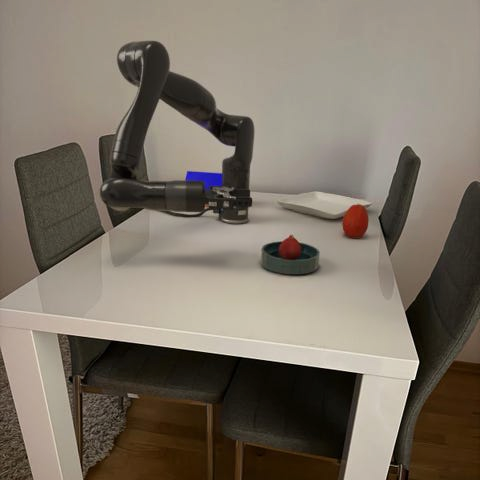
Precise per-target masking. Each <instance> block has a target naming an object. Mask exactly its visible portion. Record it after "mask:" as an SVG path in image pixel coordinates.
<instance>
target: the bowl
mask: <svg viewBox="0 0 480 480" xmlns="http://www.w3.org/2000/svg"><path fill="white" fill-rule="evenodd" d="M282 242H283V240H282V241H281V240H280V241H272V242H268V243H266V244H264V245H262V247H261V249H260V251H261V252H260V264H261V266H262V267H264V268H265V269H266V270H268V271H271V272H275V273H278V274H285V275H305V274H309V273H312V272H315V271H316V270H317V269H318V268H319V264H320V263H319V262H320V256H321V251H320V250H319V248H318V247H317V248H316V247H315V246H313V245H310V244H308V243H304V242H299V241H298V242H299V243H300V246H301V254H300V256H299V257H298V259H296V260H287V259H282V258H281V256H280V254H279V247H280V245H281V243H282Z"/></svg>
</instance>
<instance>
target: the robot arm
mask: <svg viewBox="0 0 480 480" xmlns="http://www.w3.org/2000/svg"><path fill="white" fill-rule="evenodd" d="M116 54H117V55H116V64H117V67H118V69H119V72H120V74H121V75H122V77H123V78H124V79H125V80H126V81H127V82H128V83H129V84H131V85H132V86H134V87H137V88H138V89H137V91H136V95H135V97H134V98H133V101H132V103H131V105H130V107H129V109H128V110H127V111H126V113H125V114H124V116H123V117H122V119H121V120H120V122H119V124H118V126H117V128H116V131H115V134H114V137H113V141H112V146H111V152H110V156H109V164H110V167H111V169H110V177H109V178H108V179H106V180H104V181H103V182H102V184H100V188H99V197H100V199H101V201H102V203H103V204H104V205H106V206H107V207H108V208H110V209H112V210H114V211H116V212H124V211H127V210H129V209H130V208H131V209H143V210H147V211H158V212H159V211H160V212H163V213H166V214H169V215H172V216H176V217H184V218H198V217H201V216H203V215H204V214H205V213H207V212H209V211H212V213H213V214H218V220H219V221H222V222H223V223H226V224H233V225H235V224H237V225H238V224H239V225H240V224H245V223H247V222H249V208H251V207H253V197H251V190H250V184H251V183H250V182H251V165H252V160H253V157H254V144H255V143H254V142H255V131H256V129H255V124H254V120H253V119H252V118H251V117H250V116H246V115H238V114H237V115H236V114H229V113H225V112H223V111H222V110H220V109H219V108H218V107H217V101H216V98H215V97H214V95H213V94H212V93H211V92H210V91H209V90H208V89H207V88H206V87H205V86H204V85H202V84H201V83H199V82H198V81H196V80H194V79H192V78H190V77H188V76H185V75H183V74H180V73H177V72H174V71H171V60H170V59H171V58H170V55H169V51H168V50H167V48H166V46H165V45H164V44H163V43H161V42H160V41H158V40H139V41H131V42H128V43H125V44H123V45H122V46H121V47H120V48H119V49H118V52H117V53H116ZM160 100H161V101H162V102H163V103H164V104H166V105H168V106H169V107H171V108H172V109H174V110H175V111H177V112H178V113H179V114H180V115H182V116H184V118H187V120H189V121H191V122H193V123H195V124H196V125H198V126H199V127H201V128H202V129H204V130H206V131H208V132H209V133H210V134H211V135H212V136H213V137H214V138H215V139H216V140H217V141H219V142H220V143H221V144H222V145H225V146H227V147H234V152H233V154H232V155H231V156H228V157H225V158H223V159H222V162H221V173H222V186H209V189H207V190H206V189H205V183H204V181H188V180H185V179H184V180H181V179H175V180H142V179H141V180H140V179H138V172H139V167H140V164H141V160H142V156H143V155H142V154H143V151H144V147H145V146H144V145H145V142H146V138H147V134H148V131H149V128H150V124H151V122H152V121H153V120H152V119H153V117H154V115H155V112H156V110H157V107H158V104H159V101H160ZM205 204H207V205H208V207H205ZM190 213H195V214H190Z"/></svg>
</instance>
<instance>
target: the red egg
mask: <svg viewBox="0 0 480 480" xmlns="http://www.w3.org/2000/svg"><path fill="white" fill-rule="evenodd" d="M369 220H370V218H369V214H368V211H367V208H366V209H365V207H364V206H363V205H361V204H358V205H352V206H351V207H350V208H349V209H348V210H347V212H346V213H345V215H344V216H343V217H342V223H341V225H342V231H343V233H344V235H346V236H347V238H350V239H359V238H363V236H364V235H365V234H366V232H367V230H368V228H369V222H370V221H369Z"/></svg>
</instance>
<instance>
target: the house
mask: <svg viewBox="0 0 480 480" xmlns="http://www.w3.org/2000/svg"><path fill="white" fill-rule="evenodd" d="M184 180H188V181H204V183H205V189H206V190H207V189H209V186H222V172H208V171H195V170H194V171H193V170H187V171H186V175H185V178H184ZM205 208H209V207H208V205H207V204H205Z"/></svg>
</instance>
